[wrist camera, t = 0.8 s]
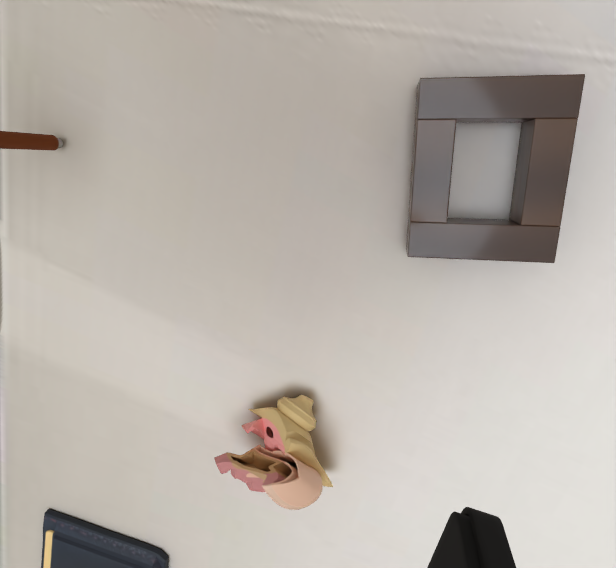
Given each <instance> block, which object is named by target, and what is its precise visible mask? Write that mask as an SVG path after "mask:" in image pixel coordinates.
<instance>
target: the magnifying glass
mask: <svg viewBox="0 0 616 568" xmlns="http://www.w3.org/2000/svg"><path fill="white" fill-rule="evenodd" d="M62 146H63V142H62V140H61V139H59V138H56V137H55V136H53V135H44V134H31V133H18V132H5V131H0V148H2V149H31V150H56V149H57V148H61V147H62Z"/></svg>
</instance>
